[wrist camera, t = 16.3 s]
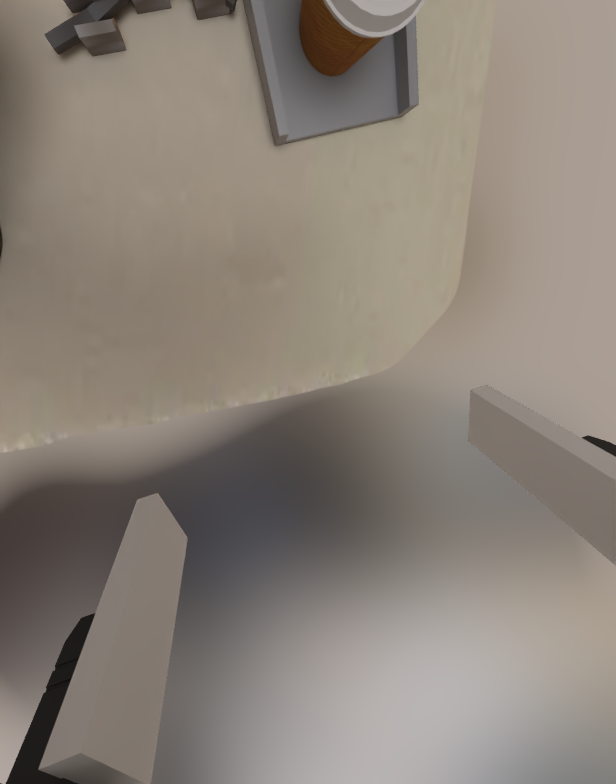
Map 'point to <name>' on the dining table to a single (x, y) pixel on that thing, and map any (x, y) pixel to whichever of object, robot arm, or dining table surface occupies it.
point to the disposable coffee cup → (349, 29)
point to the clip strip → (99, 28)
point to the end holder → (327, 77)
